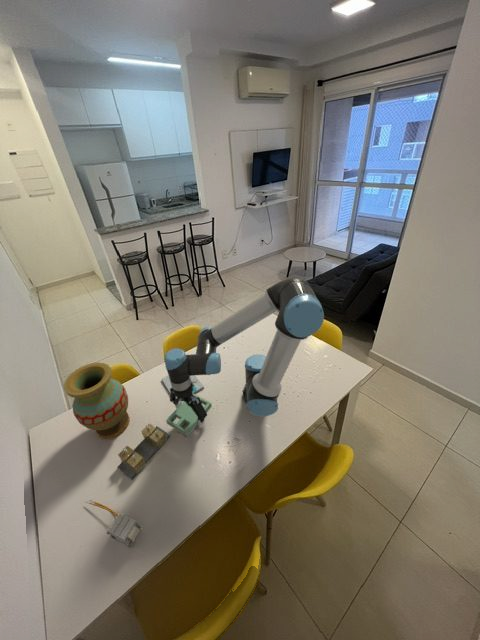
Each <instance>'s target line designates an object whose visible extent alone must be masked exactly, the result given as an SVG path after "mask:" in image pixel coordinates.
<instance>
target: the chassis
mask: <svg viewBox="0 0 480 640" xmlns="http://www.w3.org/2000/svg"><path fill="white" fill-rule="evenodd" d="M140 432H141V434H142V437H143V439H142V441H140V442H139V444H137V446H136V447H135V448H134V449H133V448H131V447H130V446H128V445H126V446H125V447H124V448H122V450H121V451H120V452H119V453H118V455H117V456H118V457H119V459H120V461H121V463H120V464H119V465H118V466H117V467H116V468H117V469H118V470H119V471H120V472H122V473H123V474H124V475H126V477H128V479H130V480H131V481H132V480H133V479H134V478H135V477H136V476H137V475H138V474H139V473H140V471H141V470H142V469H143V468H144V467H145V466H146V465H147V463H148V462H149V461H150V460H151V459H152V458H153V457H154V455H155V454H156V453H158V451H159V450H160V449H161V447H163V445H164V444H165V443H166V442H167V441H168V439H170V437H171V434H170V433H168V432H167V431H165V430H164V429H163V428H161V427H159V426H158V425H156V426H154V425H152V424H151V423H148V424H147V425H145V427H144V428H143V429H142V430H141V431H140Z"/></svg>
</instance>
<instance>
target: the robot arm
mask: <svg viewBox="0 0 480 640" xmlns="http://www.w3.org/2000/svg"><path fill="white" fill-rule="evenodd" d="M276 312H278V314H277V316H276V318H275V319H276V320H275V322H274V325H275V326H274V327H275V329H276V331H275V334H274V336H273V339H272V341H271V344H270V346H269V349H268V351H267V354H266V355H264V354H252V355H250V356H248V357H247V358H246V360H245V362H244V370H245V385H244V387H243V388H242V399H243V401H244V402H245V404H246V405H247V409H248V412H249V413H250V414H252V415H254V416H257V417H269V416H271V415H274V414H275V413H277V411H278V409H279V403H278V398H279V396H280V394H281V391H282V383H281V382H282V380H283V378H284V376H285V374H286V372H287V370H288V369H289V366H290V363H291V362H292V361H293V358H294V355H295V354H296V352H297V350H298V347H299V345H300V344H301V341H303V340H304V341H305V340H307V339H308V338H309V337H310V336H312V334H316V333H317V332H318V331H319V330H320V328H322V325H324V324H323V323H324V318H325V314H324V309H323V306H322V303H321V302H320V301H319V299H318V298H317V295H316V294H315V292H314V290H313V288H312V287H311V284H309V282H308V281H306V280H304V279H303V278H300V277H289V278H285V279H283V280H280V281H279V282H277V283H274V284H273V285H271V286H270V287H268V288H267V289H266V290H265V292H264V294H262V295H261V296H259V297H258V298H257V299H254V300H253V301H251V303H248V304H247V305H245V306H244V307H242V308H241V309H239V310H237V311H236V312H235V313H233V314H231V315H230V316H228V317H227V318H225V319H224V320H222V321H221V322H218V323H217V324H215V325H214V326H212V327H210V326H208V327H204V328H202V329H201V330H200V331H199V334H198V337H197V343H196V344H197V345H196V349H195V350H196V351H195V354H193V353H192V354H186V352H185V350H183V349H180V348H172V349H170V350H168V351H167V352H166V353H165V354H164V358H163V360H164V366H165V369H166V371H167V374H168V375H169V378H170V382H171V386H172V387H171V388H170V392H171V394H170V392H169V394H170V395H169V401H170V403H173V405H174V406H175V410H176V409H177V408H178V407H179V406H180V405H181V404H182V403H183V402H186V404H187V405H188V406H190V407H191V408H192V410H193V411H194V412H195V414H196V415H197V421H198V424H197V425H198V428H200V429H201V428H202V426H203V425H204V424H205V420H206V418H207V416H208V414H207V413H208V412H207V413H206V411H205V409H204V406H203V405H204V404H201V402H200V398H199V397H200V396H199V397H197V398H195V397H194V396H193V394H192V392H193V387H194V386H193V385H192V381H191V377H190V376H193V375H195V376H211V375H217V374H220V373H221V371H222V359H221V354H220V353H218V352H217V348H218V347H220V346H221V345H223V344H224V343H226V342H227V341H229V340H231V339H232V338H234V337H236V336H237V335H239V334H241V333H243V332H244V331H246V330H247V329H249V328H251V327H253V326H254V325H256V324H258V323H259V322H261V321H263V320H265V319H266V318H267V317H269V316H271V315H272V314H274V313H276ZM168 375H167V376H168ZM176 397H177V398H176ZM180 399H181V400H182V401H179V400H180ZM190 401H191V402H190ZM189 402H190V403H189Z"/></svg>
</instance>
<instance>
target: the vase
mask: <svg viewBox="0 0 480 640" xmlns="http://www.w3.org/2000/svg"><path fill="white" fill-rule="evenodd" d="M63 390H64V392H65V393H66V394H67V396H69V397H71V398H73V401H72V412H73V416H74V418H75V419H76V420H77V422H79V425H81V426H82V427H85V428H87V429H89V430H93V431H95V433H96V434H97V436H98V438H101V439H102V440H111V439H115V438H117V437H118V436H120V435H121V434H123V432H125V431H126V429H127V428H128V426H129V424H130V415H129V413H128V407H129V395H128V393H127V390H126V388H125V387H124V385H123V384H122V383H121V382H120V381H118V380H117V379H114V378H113V371H112V368H111V367H110V366H109V364H107V363H105V362H93V363H87V364H85V365H82V366H81V367H79V368H76V369H75V370H74V371H73V372H71V373H70V374H69V375H68V376H67V378H66V379H65V380H64V383H63Z"/></svg>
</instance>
